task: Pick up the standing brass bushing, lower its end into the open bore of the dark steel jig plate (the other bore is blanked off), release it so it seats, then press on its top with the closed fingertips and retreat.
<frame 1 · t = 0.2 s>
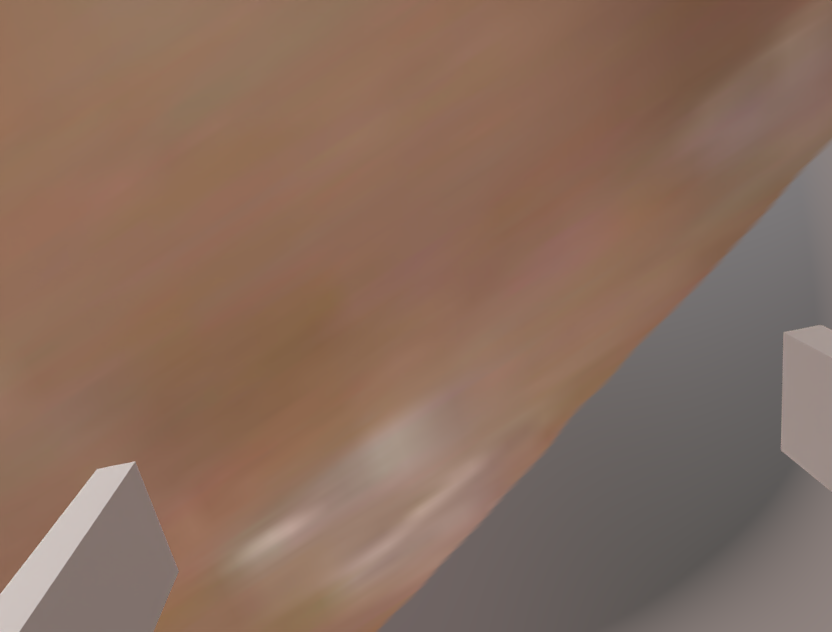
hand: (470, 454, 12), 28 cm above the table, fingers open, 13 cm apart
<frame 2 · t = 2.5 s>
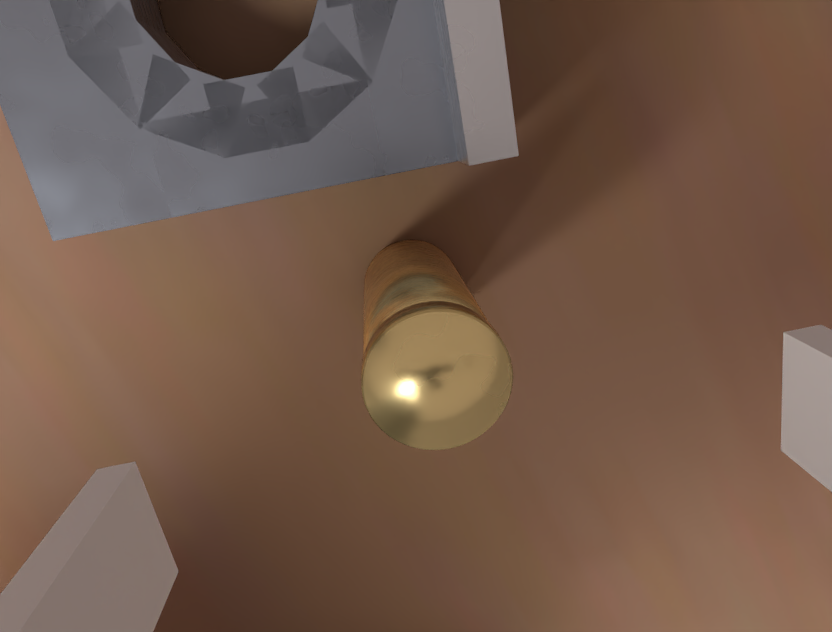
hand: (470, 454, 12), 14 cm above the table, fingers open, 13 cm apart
bushing: (411, 286, 25), on the table
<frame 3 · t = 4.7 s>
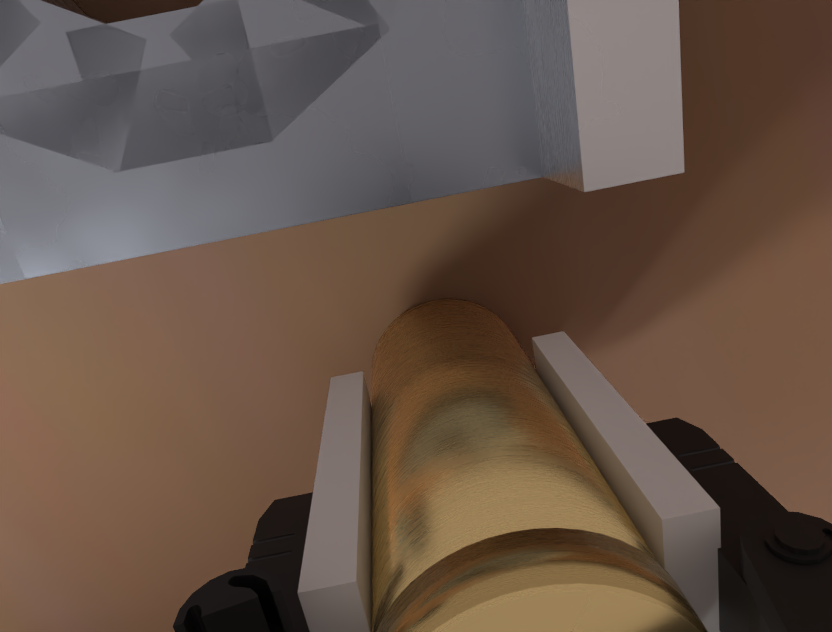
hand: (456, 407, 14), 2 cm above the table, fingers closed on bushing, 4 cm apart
bushing: (446, 370, 16), on the table, touching gripper
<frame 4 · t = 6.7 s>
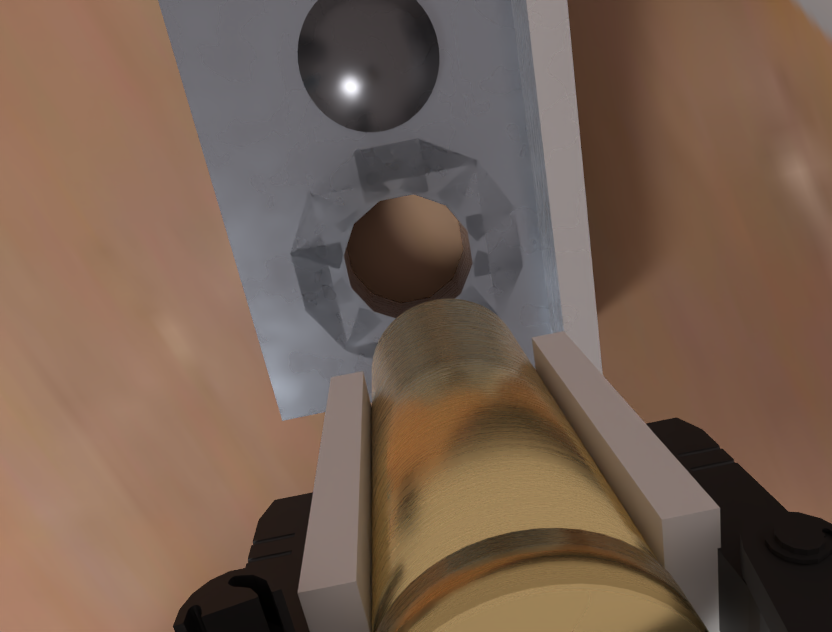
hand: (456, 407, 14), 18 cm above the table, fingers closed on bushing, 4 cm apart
bushing: (446, 369, 16), point 16 cm above the table, touching gripper
jig: (390, 170, 30), on the table
when the fingers open (4 cm above the table, at t = 9.1 s): bushing drops 2 cm, resting in jig.
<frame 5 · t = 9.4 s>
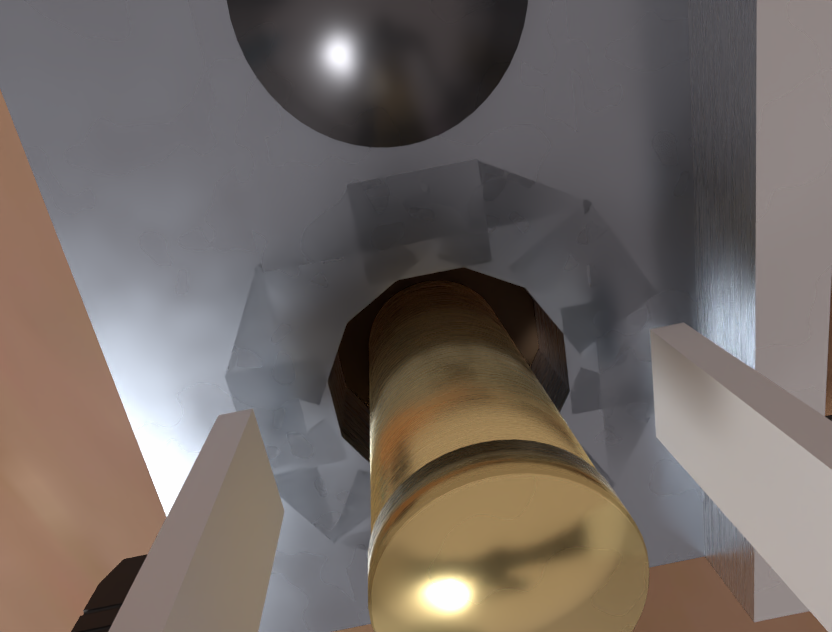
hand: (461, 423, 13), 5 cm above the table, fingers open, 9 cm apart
bushing: (435, 344, 18), resting in jig
jig: (414, 212, 17), on the table
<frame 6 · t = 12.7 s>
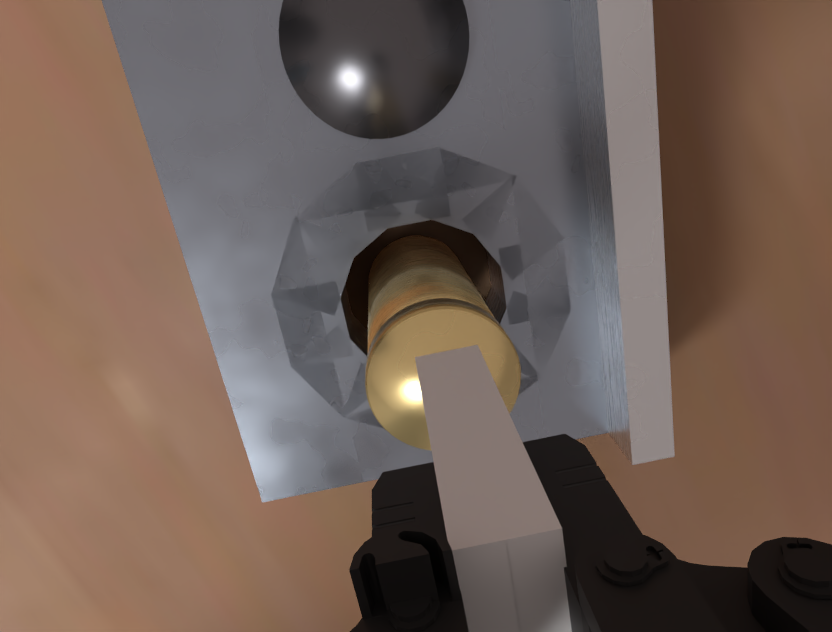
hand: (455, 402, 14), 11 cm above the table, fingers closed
bushing: (416, 282, 25), resting in jig
jig: (400, 186, 24), on the table
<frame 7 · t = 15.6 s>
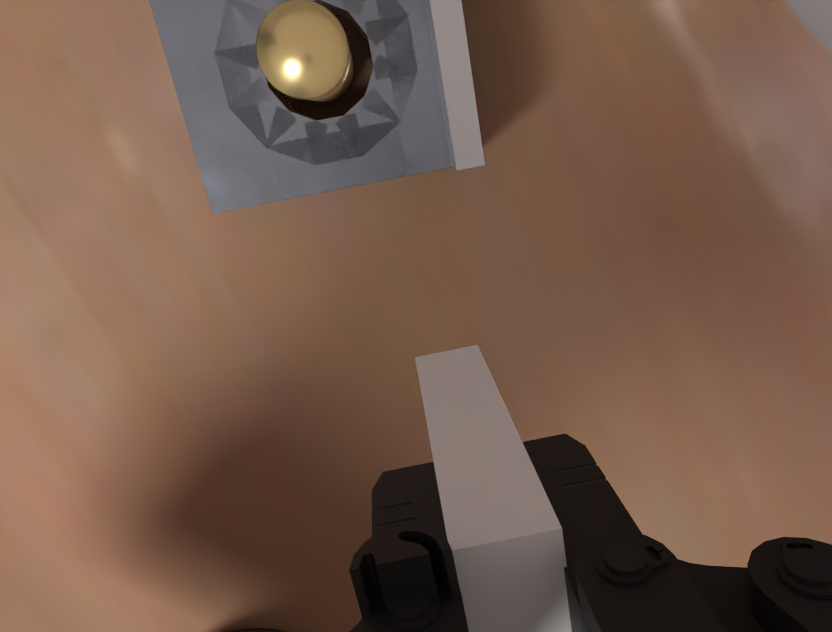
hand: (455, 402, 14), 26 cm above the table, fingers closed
bushing: (320, 66, 36), resting in jig
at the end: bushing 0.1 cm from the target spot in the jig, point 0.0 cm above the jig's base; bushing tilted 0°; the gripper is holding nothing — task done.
